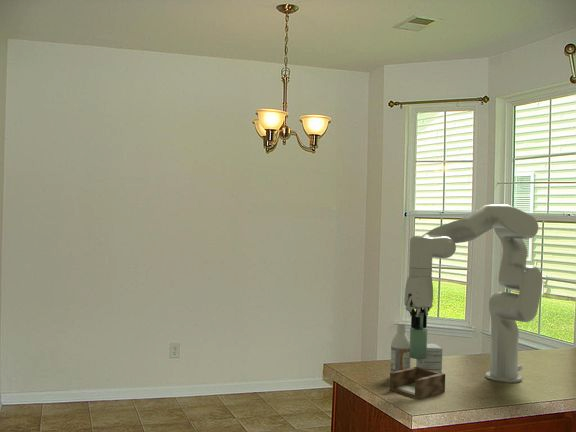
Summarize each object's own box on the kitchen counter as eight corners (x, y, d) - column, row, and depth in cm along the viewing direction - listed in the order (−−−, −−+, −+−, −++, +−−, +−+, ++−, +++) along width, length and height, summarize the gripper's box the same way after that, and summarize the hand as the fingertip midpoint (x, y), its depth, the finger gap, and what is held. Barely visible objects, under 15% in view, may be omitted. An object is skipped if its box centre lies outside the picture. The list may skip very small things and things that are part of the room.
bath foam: (399, 381, 215) (401, 325, 215) (386, 377, 221) (387, 322, 221) (413, 379, 219) (415, 323, 219) (400, 375, 225) (401, 320, 225)
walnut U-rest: (416, 383, 213) (416, 366, 213) (444, 392, 204) (445, 374, 204) (389, 390, 204) (390, 372, 204) (418, 399, 195) (419, 380, 195)
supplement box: (415, 378, 221) (416, 343, 221) (435, 378, 222) (436, 343, 222) (421, 383, 214) (422, 347, 214) (442, 383, 214) (443, 347, 214)
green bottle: (416, 354, 208) (417, 310, 208) (429, 357, 204) (431, 313, 204) (405, 356, 204) (407, 311, 204) (419, 360, 200) (420, 314, 200)
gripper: (426, 271, 212) (424, 324, 212) (395, 272, 202) (394, 328, 202) (444, 273, 206) (442, 327, 206) (413, 275, 196) (412, 332, 196)
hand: (418, 327), depth 204 cm, fingers closed on green bottle, 2 cm apart
